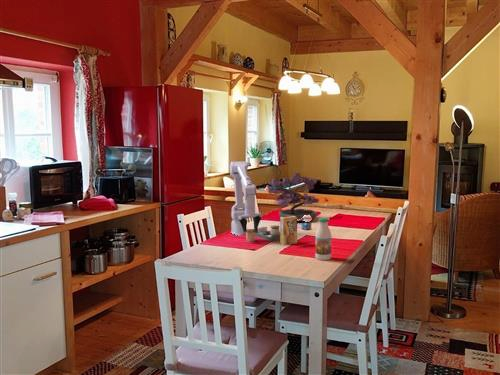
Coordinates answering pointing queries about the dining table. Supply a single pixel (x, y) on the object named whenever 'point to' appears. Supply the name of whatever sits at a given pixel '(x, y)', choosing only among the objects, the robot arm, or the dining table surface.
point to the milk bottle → (323, 240)
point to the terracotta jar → (250, 235)
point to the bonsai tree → (294, 196)
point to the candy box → (288, 230)
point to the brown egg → (274, 230)
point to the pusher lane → (267, 236)
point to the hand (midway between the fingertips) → (250, 230)
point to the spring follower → (262, 230)
